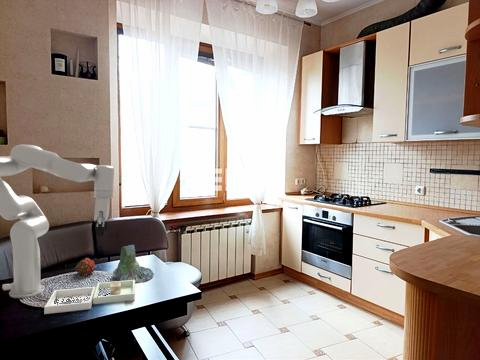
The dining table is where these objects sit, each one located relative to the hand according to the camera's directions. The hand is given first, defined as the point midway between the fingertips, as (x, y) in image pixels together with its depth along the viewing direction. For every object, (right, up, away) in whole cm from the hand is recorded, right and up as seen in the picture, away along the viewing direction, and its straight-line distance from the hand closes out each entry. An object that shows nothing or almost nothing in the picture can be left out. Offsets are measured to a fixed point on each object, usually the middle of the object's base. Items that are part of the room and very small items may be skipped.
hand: (101, 233), depth 138 cm
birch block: (+7, -26, -2) cm, 27 cm away
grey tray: (-7, -26, -11) cm, 29 cm away
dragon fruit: (-18, -24, +22) cm, 37 cm away
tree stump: (+7, -25, +20) cm, 33 cm away
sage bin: (+7, -26, -2) cm, 27 cm away
